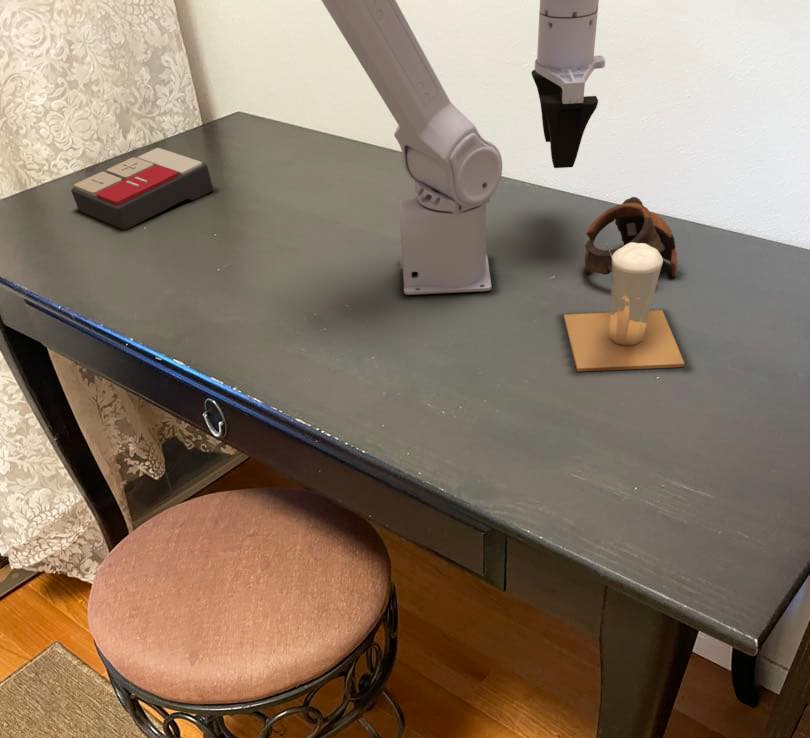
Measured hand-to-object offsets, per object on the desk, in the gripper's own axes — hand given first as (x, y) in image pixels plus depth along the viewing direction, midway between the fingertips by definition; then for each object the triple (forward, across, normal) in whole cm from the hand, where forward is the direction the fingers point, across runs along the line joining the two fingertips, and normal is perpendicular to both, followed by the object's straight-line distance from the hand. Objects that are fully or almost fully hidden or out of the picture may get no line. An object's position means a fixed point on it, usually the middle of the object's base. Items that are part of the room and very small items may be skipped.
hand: (558, 153), depth 93 cm
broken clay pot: (+10, -8, -8) cm, 15 cm away
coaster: (+10, -23, -4) cm, 25 cm away
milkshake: (+10, -23, -4) cm, 25 cm away
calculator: (+10, +18, +53) cm, 57 cm away
